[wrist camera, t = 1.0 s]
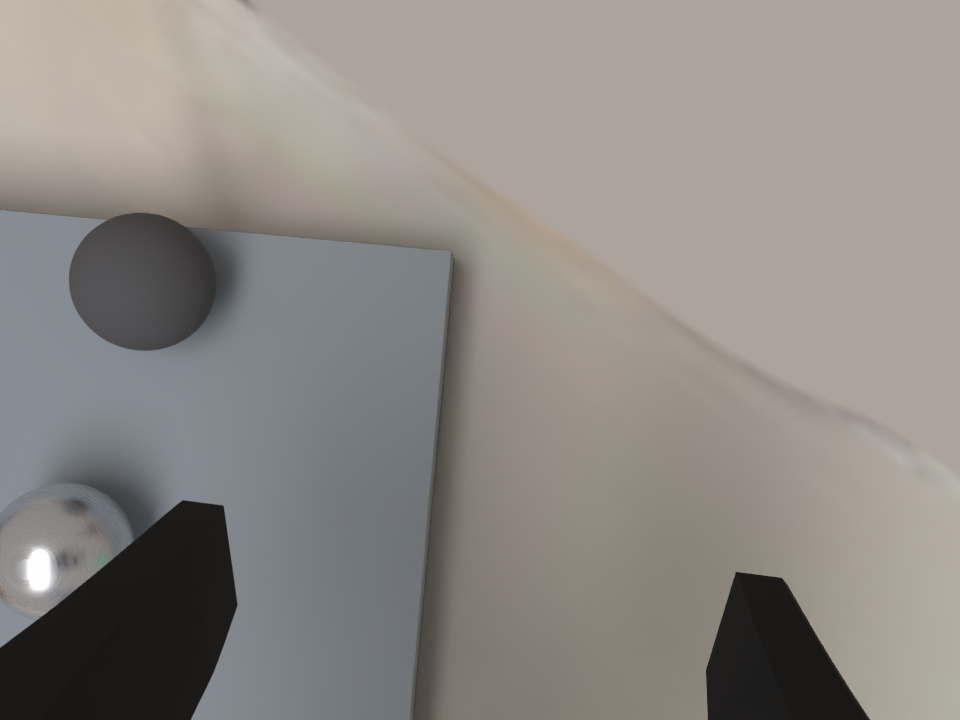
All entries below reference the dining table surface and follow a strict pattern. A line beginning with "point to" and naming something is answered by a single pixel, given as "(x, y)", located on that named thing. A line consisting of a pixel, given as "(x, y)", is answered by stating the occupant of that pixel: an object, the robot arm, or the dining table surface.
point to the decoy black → (142, 281)
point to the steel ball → (56, 544)
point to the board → (254, 446)
